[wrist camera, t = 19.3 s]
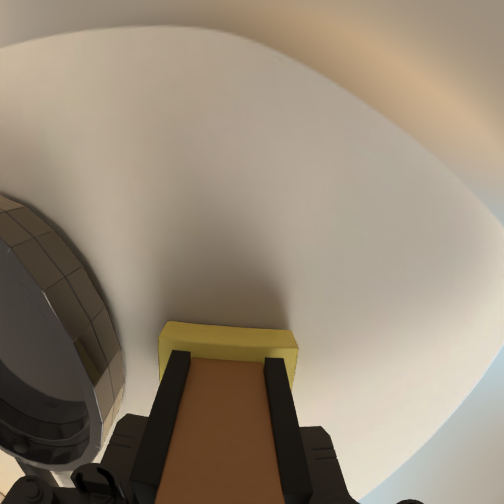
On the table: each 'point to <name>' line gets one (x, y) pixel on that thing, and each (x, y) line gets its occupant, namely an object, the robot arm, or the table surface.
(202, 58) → the table surface
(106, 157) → the table surface
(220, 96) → the table surface
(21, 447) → the pan handle
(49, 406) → the frying pan
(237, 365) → the yellow block with handle
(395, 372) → the table surface
